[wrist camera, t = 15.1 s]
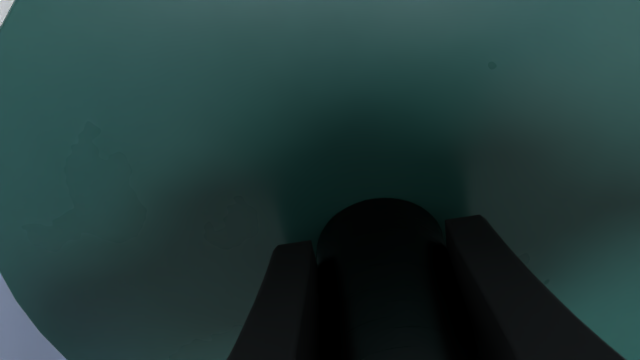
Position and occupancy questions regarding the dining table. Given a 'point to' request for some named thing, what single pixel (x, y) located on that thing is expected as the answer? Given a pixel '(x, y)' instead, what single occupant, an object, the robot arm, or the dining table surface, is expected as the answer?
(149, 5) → the tin lid
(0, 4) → the dining table surface
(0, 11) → the dining table surface
